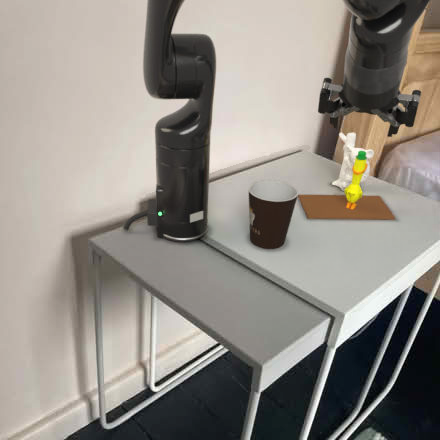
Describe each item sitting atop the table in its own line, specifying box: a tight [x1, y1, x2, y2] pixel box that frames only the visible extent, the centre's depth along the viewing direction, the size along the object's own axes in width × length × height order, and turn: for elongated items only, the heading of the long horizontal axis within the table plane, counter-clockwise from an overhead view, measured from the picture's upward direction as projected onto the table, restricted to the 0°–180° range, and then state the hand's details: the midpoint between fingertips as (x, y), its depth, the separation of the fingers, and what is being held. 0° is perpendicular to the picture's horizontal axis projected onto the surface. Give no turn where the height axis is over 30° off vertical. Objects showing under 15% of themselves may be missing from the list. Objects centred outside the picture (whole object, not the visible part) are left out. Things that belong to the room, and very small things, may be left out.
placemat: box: [297, 194, 396, 221], centre depth 104 cm, size 18×10×1 cm, turn 94°
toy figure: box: [343, 151, 368, 209], centre depth 100 cm, size 7×4×12 cm, turn 152°
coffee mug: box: [248, 179, 299, 250], centre depth 90 cm, size 12×9×10 cm
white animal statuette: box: [331, 131, 375, 192], centre depth 109 cm, size 8×7×12 cm
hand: (363, 127), depth 80 cm, fingers open, 8 cm apart
